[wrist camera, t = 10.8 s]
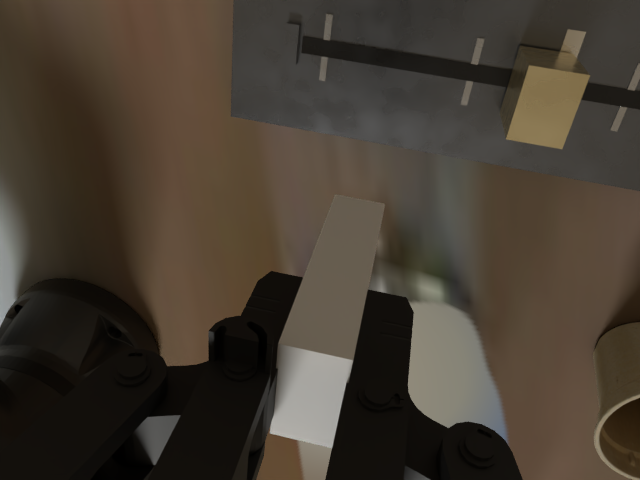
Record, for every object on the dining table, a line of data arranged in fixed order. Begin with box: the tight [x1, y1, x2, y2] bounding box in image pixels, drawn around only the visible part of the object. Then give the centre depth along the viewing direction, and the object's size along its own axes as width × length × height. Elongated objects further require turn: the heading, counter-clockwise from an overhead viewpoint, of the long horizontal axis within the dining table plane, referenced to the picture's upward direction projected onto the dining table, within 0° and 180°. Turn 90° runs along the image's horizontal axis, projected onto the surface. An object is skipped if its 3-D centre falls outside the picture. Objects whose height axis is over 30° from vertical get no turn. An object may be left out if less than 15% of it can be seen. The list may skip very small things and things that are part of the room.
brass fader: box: [500, 46, 590, 149], centre depth 31 cm, size 3×4×4 cm
